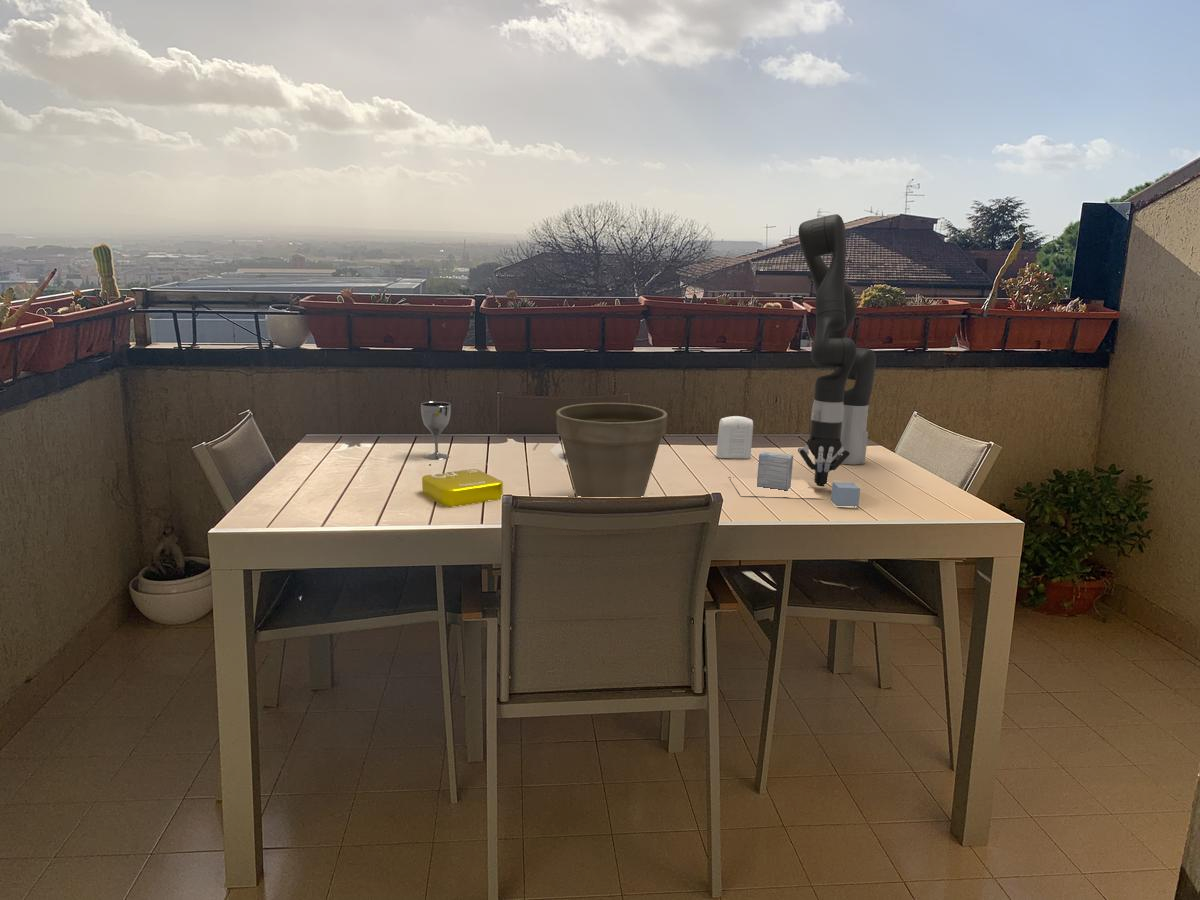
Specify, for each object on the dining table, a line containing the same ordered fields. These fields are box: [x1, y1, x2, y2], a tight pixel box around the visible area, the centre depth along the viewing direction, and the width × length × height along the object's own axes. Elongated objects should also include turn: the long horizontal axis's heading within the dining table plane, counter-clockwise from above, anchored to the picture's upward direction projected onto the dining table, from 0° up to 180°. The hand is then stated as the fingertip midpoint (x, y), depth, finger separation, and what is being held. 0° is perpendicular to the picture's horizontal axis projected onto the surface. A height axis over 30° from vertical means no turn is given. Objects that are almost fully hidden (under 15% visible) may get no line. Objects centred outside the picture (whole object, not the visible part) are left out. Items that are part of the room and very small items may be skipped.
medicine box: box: [756, 450, 794, 491], centre depth 195 cm, size 8×4×9 cm, turn 65°
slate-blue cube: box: [830, 481, 861, 507], centre depth 183 cm, size 5×5×5 cm
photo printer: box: [716, 415, 754, 460], centre depth 226 cm, size 10×4×12 cm, turn 98°
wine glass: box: [420, 401, 452, 461], centre depth 215 cm, size 8×8×15 cm
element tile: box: [421, 468, 504, 508], centre depth 181 cm, size 15×15×5 cm
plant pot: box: [555, 402, 668, 497], centre depth 176 cm, size 25×25×22 cm
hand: (820, 485), depth 196 cm, fingers closed
